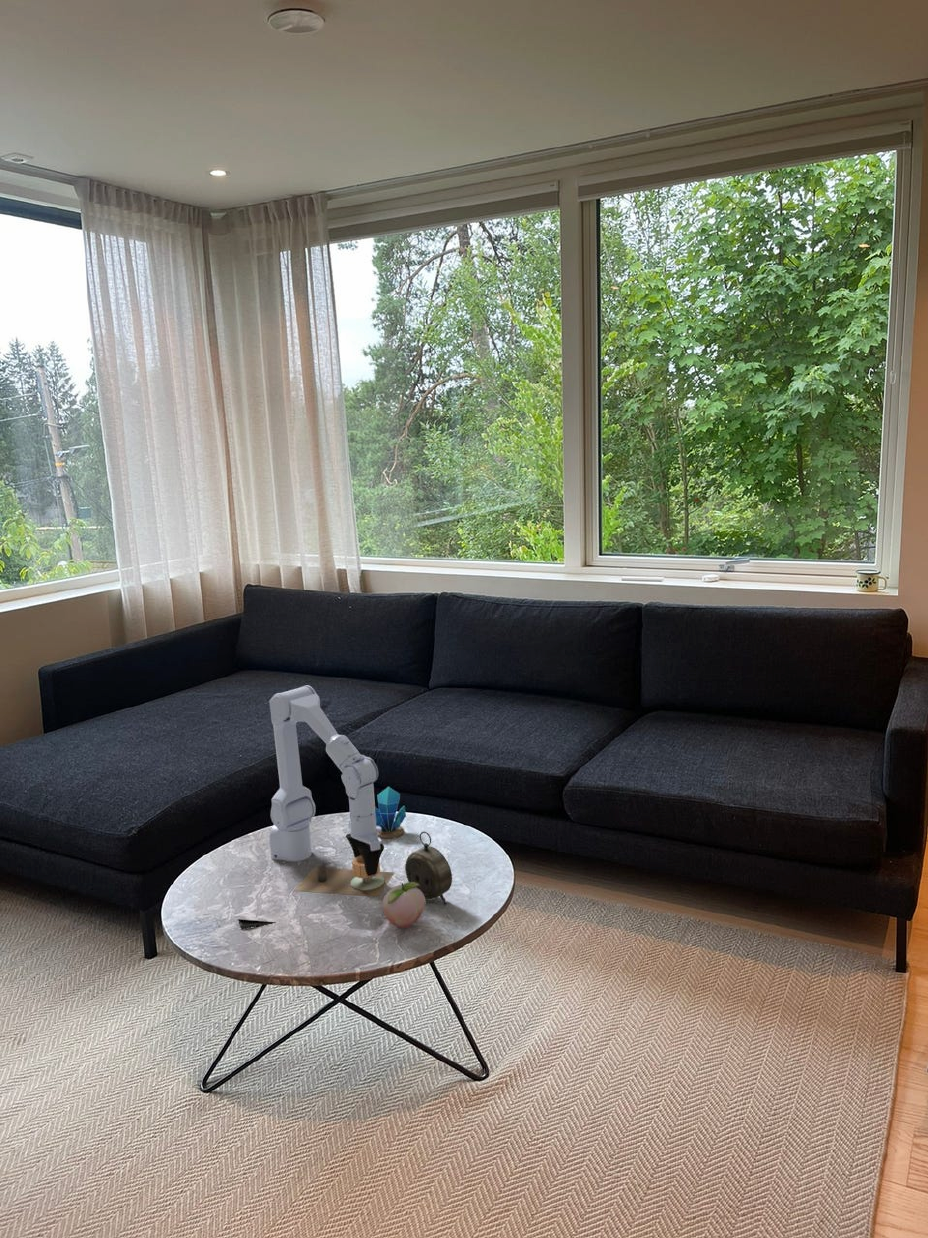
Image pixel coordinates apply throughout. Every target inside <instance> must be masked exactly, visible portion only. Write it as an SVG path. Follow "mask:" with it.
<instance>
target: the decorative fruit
mask: <svg viewBox="0 0 928 1238" xmlns="http://www.w3.org/2000/svg"><path fill="white" fill-rule="evenodd" d="M417 886H420V885H419V884H418V883H416V882H408V881H407V882H406V883H404V882H402V883H401V884H400V885H396V886H394V887H392V888H391V889H390V890H389V891H387V893H385V895H384V896H383V899H382V904H381V905H382V906H381V907H382V911H383V914H384V916H385V918H386V919H387V921H388V922H389V923H390V924H391V925H392V926H395V927H397V928H402V929H407V928H410V927H411V926H412V925H414V924H415V923H416V922H418V920H419V919H420V917H421V915H422V914H423V912H424V910H425V907H426V899H425V897H424V895H423V893H422V891H421V890H420V889H418V888H417Z"/></svg>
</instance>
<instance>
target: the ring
mask: <svg viewBox="0 0 928 1238" xmlns="http://www.w3.org/2000/svg"><path fill="white" fill-rule="evenodd" d="M380 862H381V861H379V863H378V869H377V874H374V875H371V876H368V875H367V873H366V870H365V865H364V861H363V858H362V855H360V856H357V857H353V859H352V861H351V864H352V870H353V875H354V876H355V877H358V878H371V877H374V876H376V875H378V874H379V872H381V864H380Z"/></svg>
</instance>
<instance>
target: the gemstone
mask: <svg viewBox="0 0 928 1238" xmlns="http://www.w3.org/2000/svg"><path fill="white" fill-rule="evenodd" d="M400 799H401V793H399V792H398V791H396V790H394V789H393V788H391V787H390V786H387V787H386V788H385V789H383V790H381V792H380V793H378V794H377V803H378V808H377V807H376V806H375V815H376V826H380V827H381V829H382V831H381V832H378V838H381V839H385V840H387V839H388V840H390V839H397V838H399V837H402V835H404V832H405V829H404V827H403V826H401V825H402V823H403V822H404V820H405V819H406V818H407V815H406V806H405V805H403V806H402V807H401V808H400V809H399V811H398V807H399V804H400ZM397 811H398V812H397Z"/></svg>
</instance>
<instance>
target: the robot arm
mask: <svg viewBox="0 0 928 1238" xmlns="http://www.w3.org/2000/svg"><path fill="white" fill-rule="evenodd" d="M269 709H270V710H269V711H270V718H271V724H272V727H273V734H274V735H273V737H274V746H275V752H276V762H277V764H276V765H277V770H278V780H279V788H278V790H277V791H276V793H275V794H274V795H273V796H272V798H271V807H270V819H271V822H272V823H273V825H272V826H271V829H270V831H269V849H270V859H271V860H278V861H279V860H280V861H281V860H282V861H286V862H301V861H305V860H307V859H308V858H311V856H312V853H313V852H312V842H311V841H312V840H311V832H310V831H311V829H310V824H311V823H312V818H314V817H315V815H316V804H315V802H314V800H313V797H312V790H310V788H307V787H306V786H304V785H303V779H302V770H301V769H302V768H301V760H300V750H299V743H298V742H299V741H298V732H297V723H298V722H299V723H300V722H301V723H306V724H307V725H308V726H309V727H310V729H312V731H314V732H315V734H316V735H317V736H318V738H320V739H321V740H322V741H323V742H324V743H325V753H327V755H328V757H329V758H330V759H331V760H332V761H333V763H334V764H335V766H336V767H337V768H338V769H339V770H340V772H341V773H342V774H340V776H341V781H342V784H343V785H344V787H345V793H346V795H347V796H348V803H349V805H348V806H349V817H350V818H349V819H350V820H349V821H348V826H349V830H350V831H349V833H348V834H345V838H346V840H347V841H348V843H349V845H350V847H351V850H352V852H353V856H354V857H353V858H355V857H357V856H360V855H362V858H363V861H364V865H365V870H366V873H367V875H368V876H371V875H374V874H377V869H378V863H379V862H380V858H381V855H382V853H383V851H384V850H385V845H384V844H383V843H381V841H380V839H379V837H378V832H381V831H382V829H381V827H380V826H376V815H375V807H376V803H375V786H374V782H376V781H377V780H378V777H379V770H378V769H379V768H378V766H377V764H376V763H375V761H374V759H373V758H372V757H370V756H366V755H365V754H361V753H360V752H359V750H358V749H357V748H356V747H355V746H354V744H353V743H352V742H351V740H350V739H349V737H347V736H346V734H345V735H344V734H338V732H337V730H336V729H335V727H334V726H333V724H332V722H331V721H330V720H329V718H328V717H327V716H326V714H325V712H324V711H323V709H322V708H321V700H320V696H319V695H318V693H317V692H316V690H315V688H313V687H312V686H311V685H307V684H306V685H302V686H300V687H298V688H294V689H290V690H288V691H287V690H286V691H283V692H277V693H275V694H274V695H273V696H272V697H271V698H270V699H269Z"/></svg>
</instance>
